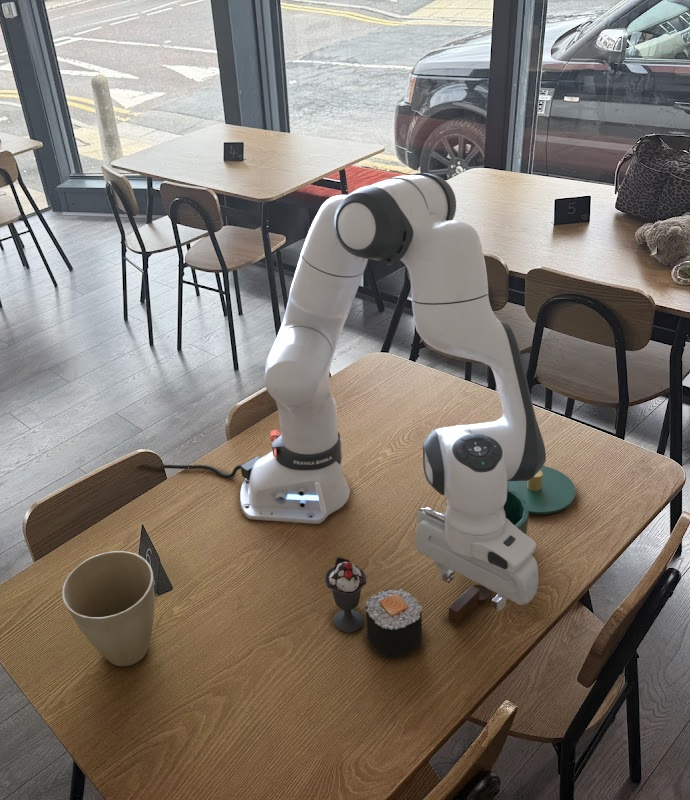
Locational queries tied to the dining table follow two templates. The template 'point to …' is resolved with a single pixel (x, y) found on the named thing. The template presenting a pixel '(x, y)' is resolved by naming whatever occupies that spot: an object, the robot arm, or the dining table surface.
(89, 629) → the plant pot
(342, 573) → the sundae
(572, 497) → the lid
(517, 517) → the tin
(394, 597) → the sushi
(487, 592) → the brown bar with disc
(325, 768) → the dining table surface
